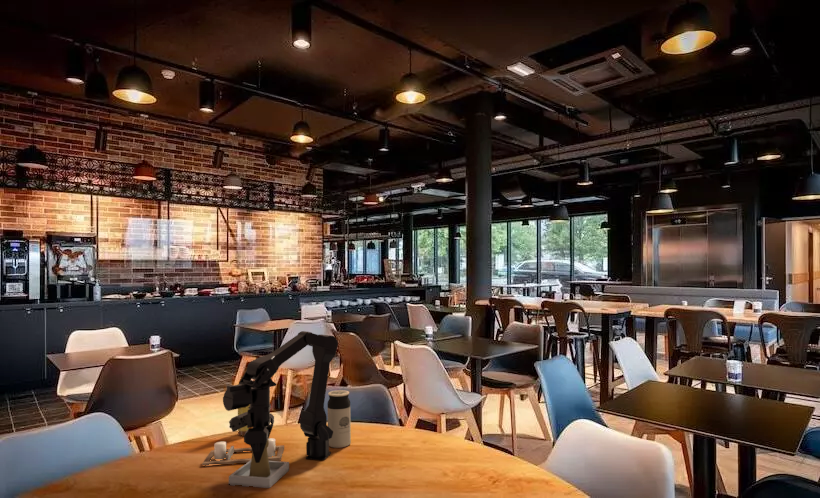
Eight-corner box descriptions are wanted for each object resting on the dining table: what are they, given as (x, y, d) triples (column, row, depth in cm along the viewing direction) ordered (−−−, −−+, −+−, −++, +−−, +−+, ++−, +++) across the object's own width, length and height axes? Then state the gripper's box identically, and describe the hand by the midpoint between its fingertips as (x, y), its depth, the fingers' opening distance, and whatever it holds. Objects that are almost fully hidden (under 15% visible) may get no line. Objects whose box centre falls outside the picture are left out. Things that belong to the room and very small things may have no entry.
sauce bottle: (251, 436, 182) (251, 382, 183) (234, 436, 182) (235, 382, 183) (257, 431, 189) (257, 378, 190) (241, 431, 189) (241, 379, 190)
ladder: (284, 448, 169) (284, 440, 169) (280, 460, 158) (280, 452, 158) (211, 453, 165) (211, 445, 166) (202, 466, 154) (202, 458, 154)
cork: (264, 480, 141) (264, 441, 142) (245, 478, 143) (245, 440, 143) (274, 471, 147) (273, 434, 148) (255, 470, 148) (255, 433, 149)
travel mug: (325, 442, 174) (324, 391, 175) (346, 439, 177) (346, 388, 178) (331, 449, 167) (330, 396, 168) (353, 446, 170) (353, 393, 171)
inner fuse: (275, 453, 165) (275, 437, 165) (274, 456, 161) (274, 441, 161) (264, 453, 164) (264, 438, 164) (263, 457, 161) (263, 442, 161)
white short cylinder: (227, 456, 162) (227, 441, 163) (224, 460, 159) (224, 444, 159) (215, 457, 162) (215, 441, 162) (213, 461, 158) (213, 445, 158)
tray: (289, 470, 150) (289, 461, 150) (269, 487, 137) (269, 478, 138) (251, 467, 152) (251, 459, 152) (228, 485, 140) (228, 476, 140)
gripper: (237, 397, 154) (237, 447, 153) (224, 413, 135) (224, 471, 135) (274, 395, 156) (274, 445, 155) (266, 411, 137) (266, 468, 136)
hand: (260, 456), depth 145 cm, fingers open, 9 cm apart
